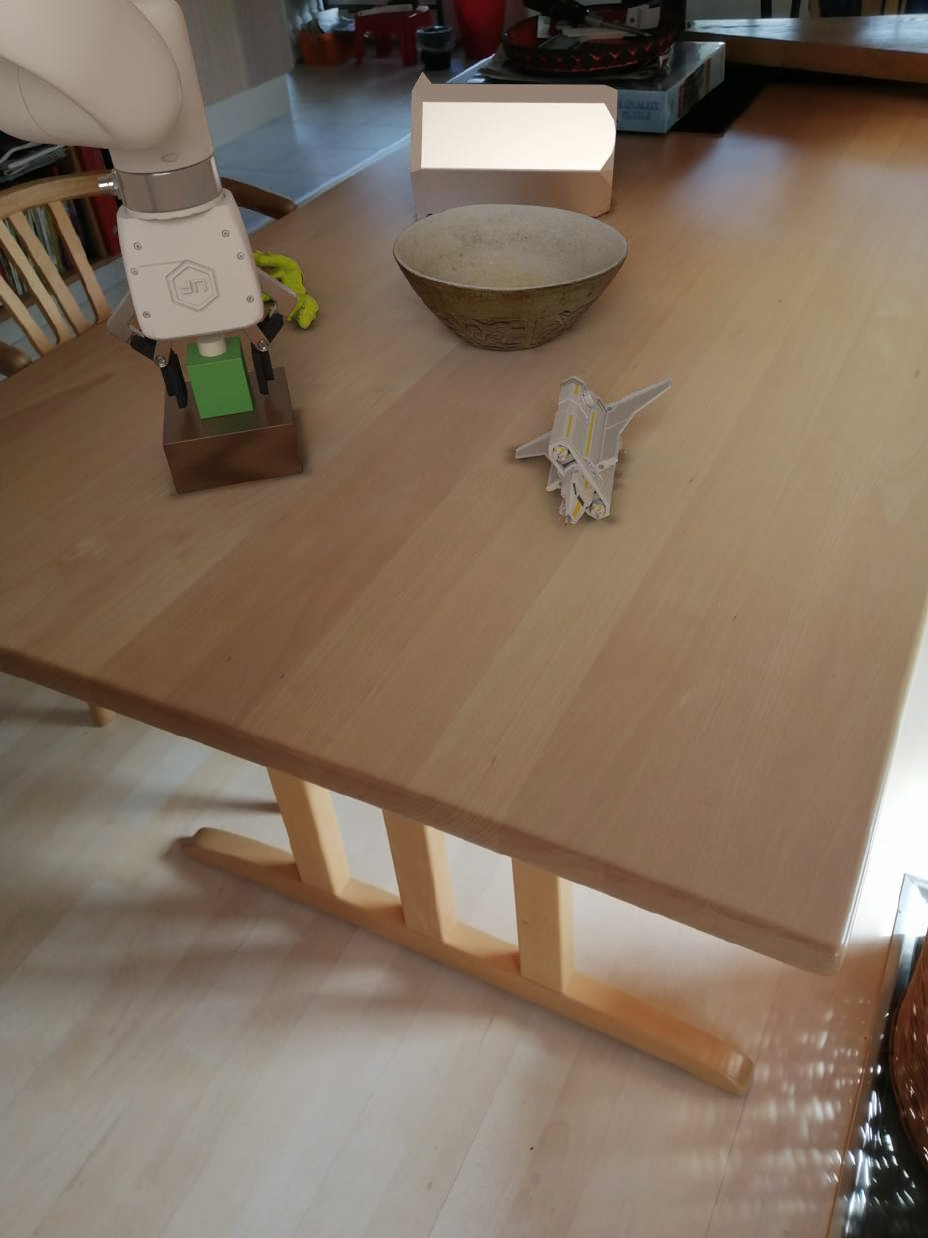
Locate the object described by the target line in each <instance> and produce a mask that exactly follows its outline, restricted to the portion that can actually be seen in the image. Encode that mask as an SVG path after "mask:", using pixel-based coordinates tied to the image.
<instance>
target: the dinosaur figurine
mask: <svg viewBox="0 0 928 1238" xmlns="http://www.w3.org/2000/svg"><path fill="white" fill-rule="evenodd" d="M252 252H253V255H254V259H255V263H256V267H257V268H260V269H261V270H262V271H264V272H265V273H267V274H268V275H270V276H271V277H273V278H274V279H276V280H278V281H279V282H281V283H282V284H284V285H285V286H287V287H288V288H290V289H291V290H293V291H294V292H295V293H296V295H297V299H298V303H297V305H296V307H295V308H294V310H293V311H292V313H291V314H290V316H289V317H288V318H287V319H286V321H289V322H292V321H293V319H295V320H296V321H297V323H298V326H299V327H300V328H301V329H308V328H309V327H310V325H311V324H312V321H314V320H316V318H317V312H318V310H319V307H320V306H319V304H318V303H317V300H316V299H315V298H313V296H311V295H309V294H308V293H307V289H306V288H305V286H304V285H303V284H304V283H305V281H306V277H305V276H304V274H303V271H302V269H301V267H300V266H299V264H298V263H297V261H296V260H294V259H293V258H291V257H288V256H285V255H283V254H275V253H273V252H270V251H269V250H267V251H266V252H262V251H259V250H258V249H257V250H255V251H252ZM262 295H263V302H268V301H272V303H270V306H269V307H268V308H267V313H269V311H270V310H271V309H273V307H274V305H275V304H276V301H275V300H274V299H272V298H270V297H269V296H267V295H266V294H264V293H263V292H262Z"/></svg>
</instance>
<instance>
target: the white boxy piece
mask: <svg viewBox="0 0 928 1238" xmlns="http://www.w3.org/2000/svg"><path fill="white" fill-rule="evenodd" d="M410 106H411V107H410V109H411V110H410V145H409V146H410V147H409V149H410V150H409V151H410V152H409V176H410V182H411V189H412V194H413V200H414V207H415V213H416V218H417V221H420V220H421V219H423V218H425V217H427V216H429V215H432V214H435V213H439V212H441V211H443V210H447V209H452V208H456V207H459V206H465V205H477V204H514V205H532V206H543V207H552V208H557V209H562V210H568V211H573V212H577V213H582V214H584V215H587V216H590V217H592V218H597V217H599V216H602V215H603V214H605V213H608V212H609V211H610V210H611V201H612V191H613V180H614V164H615V149H616V136H617V120H618V119H617V118H618V89H616V88H614V87H612V86H609V85H607V84H534V83H533V84H532V83H531V84H526V83H525V84H522V83H520V84H518V83H517V84H515V83H513V84H512V83H511V84H509V83H507V84H505V83H503V84H502V83H501V84H500V83H498V84H497V83H495V84H494V83H432V82H431V81H430V80H429V78H428V76H426V74H425V73H424V71H422V72H421V73H420V75H419V78H418V79H417V81H416V82H415V84H414V86H413V87H412V90H411V105H410Z"/></svg>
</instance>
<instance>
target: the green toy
mask: <svg viewBox="0 0 928 1238" xmlns="http://www.w3.org/2000/svg"><path fill="white" fill-rule="evenodd" d="M241 340H242V339H241V336H240V335H233V336H228V337H225V333H224V332H221V333H215V334H208V335H202V336H196V339H195V342H189V343H186V371H187V374H188V377H189V378H188V379H189V381H190V382H191V385H192V389H193V393H194V396H195V400H196V403H197V407H198V411H199V414H200V418H201V419H205V418H211V417H217V416H223V415H230V414H236V413H242V412H248V411H253V410H254V409H253V399H252V388H251V383H250V378H249V374H248V372H249V370H248V366H247V361H246V357H245V353H244V349H243V344H242V341H241Z"/></svg>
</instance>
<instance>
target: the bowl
mask: <svg viewBox="0 0 928 1238" xmlns="http://www.w3.org/2000/svg"><path fill="white" fill-rule="evenodd" d="M628 253H629V244H628V241H627V240H626V238H625V237H624V235H623V233H621V232H620V231H619V229H617V228H616V227H615V226H613V225H611V224H608V223H606V222H604V221H602V220H600V219H597V218H595V217H590V216H587V215H584V214H582V213H577V212H573V211H568V210H562V209H557V208H552V207H543V206H532V205H514V204H477V205H465V206H459V207H456V208H452V209H447V210H443V211H441V212H439V213H435V214H429V215H427V216H426V217H425V218H423V219H421V220H420V221H418V220H417V221H415V222H414V223H412V224H409V225H408V226H407V227H405V228H404V229H402V230H401V232H400V234H399V235H398V236H397V238H396V240H395V241H394V243H393V247H392V255H393V257H394V260H395V263H396V264H397V266H398V268H399V270H400V271H401V273H402V274H403V276H404V277H405V279H406V280H407V282H408V284H409V285H410V287H411V288H412V289H413V291H414V292H415V294H416V295H417V296H418V297H419V298H420V299H421V301H422V302H423V304H424V305H425V306H426V307H427V309H428V310H429V311H430V312H431V313H432V314H433V315H434V316H435V317H436V318H437V319H438V320H439V322H440V323H442V324H443V325H444V326H445V327H446V328H447V329H448V330H450V331H451V332H452V333H453V334H455V335H456V336H457V337H459V338H460V339H461V340H463V341H464V342H466V343H468V344H470V345H472V346H474V347H478V348H481V349H487V350H495V351H515V350H521V349H529V348H535V347H538V346H540V345H543V344H546V343H547V342H550V341H551V340H552V339H553V340H554V338H556V337H558V336H559V335H560V334H562V333H563V332H564V331H566V330H567V329H568V328H570V327H571V326H572V325H573V324H575V323H576V322H577V321H578V320H579V319H580V317H582V316H583V315H584V314H586V312H587V311H588V310H589V309H590V308H591V307H592V305H593V304H594V303H596V301H598V299H599V298H600V297H601V296H602V294H603V293H604V292H605V291H606V289H608V287H609V286H610V285H611V283H612V282H613V281H614V279H615V278H616V276H617V275H618V273H619V272H620V270H621V268H622V267H623V265H624V264H625V262H626V260H627V257H628Z"/></svg>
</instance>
